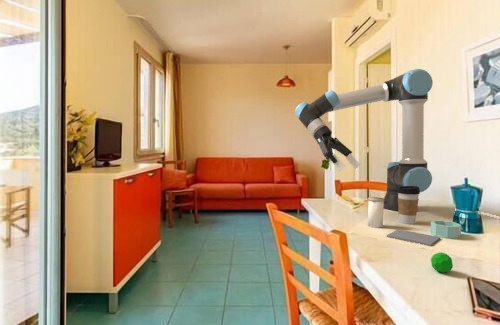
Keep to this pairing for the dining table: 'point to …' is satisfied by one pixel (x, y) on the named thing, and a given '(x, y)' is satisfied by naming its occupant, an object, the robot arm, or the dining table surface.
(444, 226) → the bowl
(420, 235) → the mat
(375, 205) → the tumbler
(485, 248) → the dining table surface
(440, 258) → the polyhedron
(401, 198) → the coffee cup
